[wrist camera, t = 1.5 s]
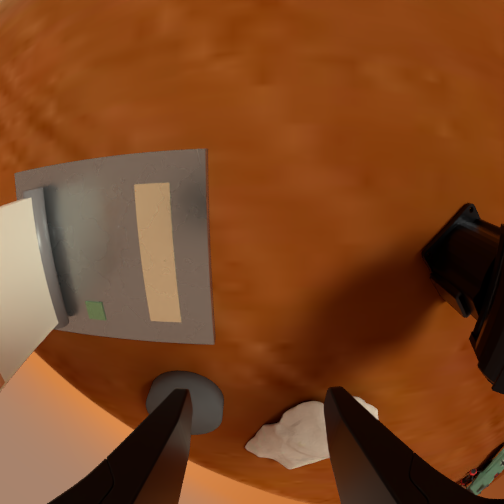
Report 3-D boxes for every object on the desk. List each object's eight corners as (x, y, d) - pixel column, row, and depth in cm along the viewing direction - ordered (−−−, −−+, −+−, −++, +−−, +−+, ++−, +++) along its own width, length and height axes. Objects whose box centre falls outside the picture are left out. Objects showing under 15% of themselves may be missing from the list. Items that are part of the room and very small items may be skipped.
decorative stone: (358, 368, 25) (227, 416, 29) (364, 395, 21) (219, 441, 25) (389, 427, 26) (275, 464, 30) (395, 451, 23) (272, 487, 27)
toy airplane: (438, 500, 44) (455, 522, 34) (479, 457, 36) (503, 483, 26) (486, 460, 49) (502, 478, 39) (524, 411, 40) (545, 430, 30)
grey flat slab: (207, 149, 18) (205, 148, 17) (215, 336, 23) (213, 345, 21) (22, 171, 18) (13, 173, 17) (51, 322, 22) (46, 328, 21)
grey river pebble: (181, 356, 24) (175, 375, 21) (239, 398, 25) (238, 416, 23) (139, 389, 25) (132, 406, 23) (192, 424, 27) (189, 441, 25)
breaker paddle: (47, 186, 17) (-74, 229, 6) (72, 318, 21) (-1, 410, 10) (31, 188, 17) (-84, 231, 6) (57, 316, 21) (-17, 402, 10)
